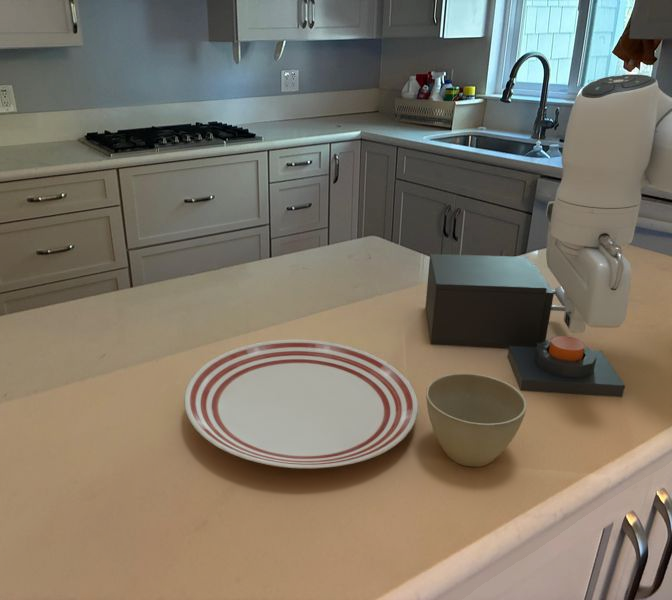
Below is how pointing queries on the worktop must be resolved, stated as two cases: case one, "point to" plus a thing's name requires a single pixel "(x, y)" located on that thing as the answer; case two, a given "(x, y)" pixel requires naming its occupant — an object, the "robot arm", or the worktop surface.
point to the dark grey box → (483, 301)
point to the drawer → (549, 305)
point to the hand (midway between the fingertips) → (573, 327)
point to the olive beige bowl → (474, 416)
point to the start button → (566, 348)
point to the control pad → (564, 372)
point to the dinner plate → (301, 404)
